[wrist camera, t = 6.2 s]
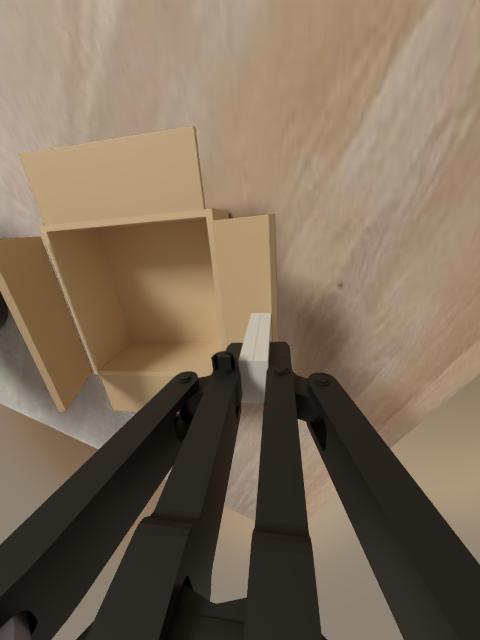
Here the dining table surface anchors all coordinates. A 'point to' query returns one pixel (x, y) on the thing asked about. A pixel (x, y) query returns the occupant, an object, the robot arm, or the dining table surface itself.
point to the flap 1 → (43, 317)
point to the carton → (134, 256)
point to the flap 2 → (246, 272)
